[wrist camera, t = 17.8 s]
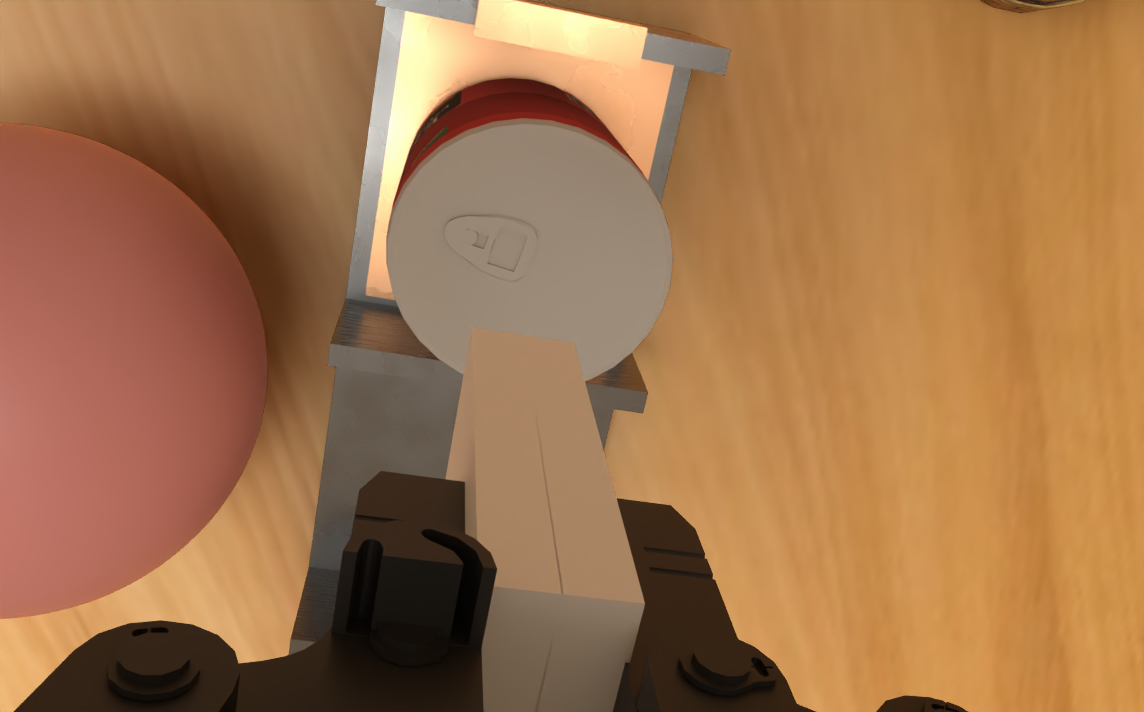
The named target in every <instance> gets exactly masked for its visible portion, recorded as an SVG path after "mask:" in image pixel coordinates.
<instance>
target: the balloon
mask: <svg viewBox="0 0 1144 712" xmlns="http://www.w3.org/2000/svg"><path fill="white" fill-rule="evenodd" d="M267 374H268V366H267V348H266V340H265V333H264V328H263V323H262V318H261V314H260V311H259V307H258V304H257V300H256V297H255V295H254V292H253V289H252V287H251V284H250V282H249V279H248V277H247V275H246V273H245V271H244V269H243V267H242V265H241V263H240V261H239V259H238V258H237V256H236V254H235V253H234V251H233V249H232V248H231V246H230V245H229V243H228V242H227V240H226V239H225V237H224V236H223V235H222V233H221V232H220V231H219V229H218V228H217V227H216V226H215V224H214V223H213V222H212V221H211V220H210V218H209V217H208V216H207V215H206V214H205V213H204V212H203V211H202V210H201V209H200V208H199V207H198V206H197V205H196V204H195V203H194V202H193V201H192V200H191V199H190V198H189V197H188V196H187V195H186V194H185V193H184V192H182V191H181V190H180V189H179V188H178V187H176V186H175V185H174V184H173V183H171V182H170V181H169V180H167V179H166V178H164V177H163V176H162V175H160V174H159V173H157V172H156V171H154V170H153V169H151V168H149V167H148V166H146V165H144V164H143V163H141V162H139V161H137V160H136V159H134V158H132V157H130V156H128V155H126V154H124V153H122V152H120V151H118V150H116V149H113V148H111V147H109V146H106V145H104V144H102V143H99V142H96V141H93V140H91V139H88V138H85V137H81V136H78V135H75V134H71V133H68V132H64V131H59V130H55V129H49V128H44V127H38V126H32V125H24V124H12V123H0V619H8V618H19V617H27V616H35V615H41V614H46V613H51V612H55V611H59V610H63V609H67V608H71V607H74V606H78V605H81V604H84V603H87V602H90V601H93V600H96V599H99V598H101V597H104V596H106V595H109V594H111V593H113V592H115V591H117V590H119V589H121V588H123V587H125V586H127V585H129V584H131V583H133V582H135V581H137V580H138V579H140V578H142V577H143V576H145V575H147V574H148V573H150V572H151V571H153V570H155V569H156V568H158V567H159V566H160V565H162V564H163V563H165V562H166V561H167V560H169V559H170V558H171V557H172V556H174V555H175V554H176V553H177V552H178V551H180V550H181V549H182V548H183V547H184V546H185V545H187V544H188V543H189V542H190V541H191V540H192V539H193V538H194V537H195V536H196V535H197V534H198V533H199V532H200V531H201V530H202V529H203V528H204V527H205V526H206V525H207V524H208V522H209V521H210V520H211V519H212V518H213V516H214V515H215V514H216V513H217V511H218V510H219V509H220V507H221V506H222V505H223V503H224V502H225V500H226V499H227V498H228V496H229V495H230V493H231V492H232V490H233V488H234V487H235V485H236V483H237V482H238V480H239V478H240V476H241V474H242V472H243V470H244V468H245V466H246V464H247V462H248V460H249V457H250V455H251V452H252V450H253V447H254V444H255V442H256V438H257V435H258V432H259V428H260V425H261V421H262V416H263V411H264V406H265V399H266V390H267Z"/></svg>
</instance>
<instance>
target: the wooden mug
mask: <svg viewBox="0 0 1144 712" xmlns="http://www.w3.org/2000/svg"><path fill="white" fill-rule="evenodd" d="M982 1H983V2H985V3H987V4H989V5H991V6H992V7H995V8H1000V9H1005V10H1009V11H1014V12H1019V13H1024V12H1030V11H1037V10H1043V9H1049V8H1055V7H1062V6H1068V5H1074V4H1078V3H1081V2H1083V1H1086V0H982Z"/></svg>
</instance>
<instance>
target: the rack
mask: <svg viewBox="0 0 1144 712" xmlns="http://www.w3.org/2000/svg"><path fill="white" fill-rule="evenodd" d="M376 5H378V6H383V7H386V9H385V16H384V23H383V30H382V38H381V45H380V52H379V60H378V67H377V74H376V82H375V89H374V96H373V103H372V111H371V118H370V125H369V133H368V140H367V147H366V155H365V162H364V169H363V176H362V184H361V191H360V198H359V206H358V213H357V220H356V227H355V235H354V242H353V249H352V257H351V264H350V271H349V279H348V286H347V293H346V299H345V302H344V305H343V308H342V311H341V314H340V317H339V320H338V323H337V326H336V328H335V331H334V334H333V337H332V340H331V343H330V350H329V357H328V365H327V366H333V367H336V373H335V381H334V388H333V395H332V403H331V410H330V417H329V425H328V432H327V439H326V446H325V454H324V461H323V468H322V476H321V483H320V490H319V497H318V505H317V512H316V519H315V527H314V534H313V541H312V549H311V556H310V563H309V569H308V573H307V577H306V581H305V585H304V589H303V593H302V597H301V601H300V605H299V608H298V612H297V616H296V620H295V624H294V628H293V632H292V636H291V641H290V648H289V655H290V654H293V653H296V652H298V651H301V650H304V649H306V648H307V647H309V646H311V645H312V644H314V643H315V642H317V641H318V640H320V639H321V638H322V637H323V636H324V635H325V634H326V633H327V632H328V630H329V629H330V628H331V627H332V623H333V616H334V609H335V602H336V595H337V588H338V581H339V574H340V567H341V560H342V553H343V550H344V548H345V546H346V544H347V543H348V541H349V539H350V538H351V533H352V527H353V522H354V517H355V511H356V505H357V500H358V494H359V490H360V489H361V488H362V487H363V486H364V485H365V484H366V483H368V482H369V481H370V480H371V479H372V478H373V477H375V476H376V475H377V474H378V473H379V472H380V471H386V472H393V473H401V474H409V475H417V476H424V477H432V478H440V479H445V478H446V473H447V467H448V461H449V455H450V450H451V444H452V438H453V432H454V427H455V421H456V415H457V409H458V404H459V398H460V392H461V387H462V381H463V375H464V374H461V373H460V372H458V371H457V370H455V369H453V368H452V367H450V366H449V365H447V364H446V363H444V362H443V361H441V360H440V359H438V358H437V357H436V356H435V355H434V354H433V353H432V352H431V351H430V350H429V349H428V348H427V347H426V346H425V345H424V344H423V343H421V342H420V341H419V340H418V338H417V337H416V335H415V334H414V332H413V331H412V330H411V328H410V327H409V325H408V324H407V323H406V321H405V320H404V318H403V316H402V314H401V311H400V309H399V307H398V305H397V302H396V300H395V298H394V296H393V293H392V288H391V283H390V279H389V274H388V269H387V264H386V235H387V230H388V224H389V220H390V215H391V211H392V206H393V202H394V198H395V195H396V192H397V188H398V185H399V182H400V179H401V175H402V172H403V169H404V166H405V162H406V159H407V156H408V153H409V149H410V147H411V145H412V143H413V140H414V138H415V136H416V134H417V132H418V129H419V128H420V127H421V125H422V124H423V123H424V121H425V120H426V119H427V117H428V116H429V115H430V113H431V112H432V111H433V110H435V109H436V108H437V107H438V106H439V105H440V104H441V103H442V102H444V101H445V100H446V99H447V98H449V97H450V96H452V95H454V94H456V93H457V92H459V91H461V90H463V89H464V88H466V87H469V86H472V85H475V84H478V83H481V82H485V81H488V80H497V79H505V78H516V79H529V80H535V81H538V82H542V83H546V84H549V85H553V86H555V87H557V88H559V89H561V90H563V91H565V92H567V93H569V94H571V95H573V96H575V97H576V98H577V99H579V100H580V101H581V102H582V103H584V104H585V105H586V106H588V107H589V108H590V109H591V110H592V111H593V112H594V113H595V114H596V115H597V116H598V118H599V119H600V120H601V121H602V122H603V123H604V124H605V125H606V127H607V128H608V129H609V130H610V132H611V133H612V134H613V135H614V137H615V138H616V139H617V140H618V142H619V143H620V144H621V146H622V147H623V148H624V149H625V151H626V152H627V153H628V154H629V156H630V157H631V158H632V159H633V161H634V162H635V163H636V164H637V166H638V167H639V168H640V169H641V171H642V172H643V174H644V176H645V177H646V178H647V180H648V182H649V183H650V185H651V187H652V189H653V190H654V192H655V194H656V196H657V197H658V199H659V201H660V203H661V200H662V196H663V192H664V187H665V183H666V179H667V174H668V170H669V166H670V161H671V157H672V153H673V148H674V144H675V140H676V135H677V131H678V127H679V122H680V118H681V114H682V109H683V105H684V101H685V96H686V92H687V88H688V83H689V79H690V75H691V70H692V69H694V70H699V71H704V72H709V73H714V74H719V75H724V76H725V72H726V68H727V63H728V59H729V55H730V51H731V50H730V49H727V48H725V47H722V46H720V45H717V44H715V43H712V42H710V41H707V40H705V39H702V38H700V37H697V36H695V35H692V34H689V33H684V32H679V31H674V30H670V29H665V28H660V27H655V26H650V25H646V24H641V23H636V22H631V21H626V20H621V19H617V18H612V17H607V16H602V15H597V14H593V13H588V12H583V11H578V10H573V9H568V8H564V7H559V6H554V5H549V4H544V3H539V2H535V1H530V0H376ZM585 384H586V388H587V391H588V395H589V399H590V402H591V406H592V410H593V413H594V417H595V421H596V424H597V428H598V432H599V436H600V439H601V443H602V447H603V450H604V447H605V442H606V438H607V434H608V429H609V425H610V421H611V416H612V412H613V409H617V410H624V411H631V412H637V413H643V411H644V407H645V403H646V399H647V395H648V391H647V389H646V386H645V384H644V382H643V379H642V377H641V374H640V372H639V369H638V367H637V364H636V362H635V359H634V357H633V354H632V353H630V354H629V355H628V356H627V357H625V358H624V359H623V360H622V361H620V362H619V363H618V364H617V365H615V366H614V367H613V368H611V369H609V370H607V371H605V372H603V373H601V374H600V375H598V376H596V377H594V378H592V379H590V380H587V381H585Z"/></svg>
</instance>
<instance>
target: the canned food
mask: <svg viewBox="0 0 1144 712" xmlns="http://www.w3.org/2000/svg"><path fill="white" fill-rule="evenodd" d="M672 262H673V256H672V247H671V238H670V232H669V227H668V224H667V221H666V218H665V215H664V212H663V209H662V206H661V203H660V201H659V199H658V197H657V196H656V194H655V192H654V190H653V189H652V187H651V185H650V183H649V182H648V180H647V178H646V177H645V176H644V174H643V172H642V171H641V169H640V168H639V167H638V166H637V164H636V163H635V162H634V161H633V159H632V158H631V157H630V156H629V154H628V153H627V152H626V151H625V149H624V148H623V147H622V146H621V144H620V143H619V142H618V140H617V139H616V138H615V137H614V135H613V134H612V133H611V132H610V130H609V129H608V128H607V127H606V125H605V124H604V123H603V122H602V121H601V120H600V119H599V118H598V116H597V115H596V114H595V113H594V112H593V111H592V110H591V109H590V108H589V107H588V106H586V105H585V104H584V103H582V102H581V101H580V100H579V99H577V98H576V97H575V96H573V95H571V94H569V93H567V92H565V91H563V90H561V89H559V88H557V87H555V86H553V85H549V84H546V83H542V82H538V81H535V80H529V79H516V78H505V79H497V80H488V81H485V82H481V83H478V84H475V85H472V86H469V87H466V88H464V89H463V90H461V91H459V92H457V93H456V94H454V95H452V96H450V97H449V98H447V99H446V100H445V101H444V102H442V103H441V104H440V105H439V106H438V107H437V108H436V109H435V110H433V111H432V112H431V113H430V115H429V116H428V117H427V119H426V120H425V121H424V123H423V124H422V125H421V127H420V128H419V129H418V132H417V134H416V136H415V138H414V140H413V143H412V145H411V147H410V149H409V153H408V156H407V159H406V162H405V166H404V169H403V172H402V175H401V179H400V182H399V185H398V188H397V192H396V195H395V198H394V202H393V206H392V211H391V215H390V220H389V224H388V230H387V235H386V264H387V269H388V274H389V279H390V283H391V288H392V293H393V296H394V298H395V300H396V302H397V305H398V307H399V309H400V311H401V314H402V316H403V318H404V320H405V321H406V323H407V324H408V325H409V327H410V328H411V330H412V331H413V332H414V334H415V335H416V337H417V338H418V340H419V341H420V342H421V343H423V344H424V345H425V346H426V347H427V348H428V349H429V350H430V351H431V352H432V353H433V354H434V355H435V356H436V357H437V358H438V359H440V360H441V361H443V362H444V363H446V364H447V365H449V366H450V367H452V368H453V369H455V370H457V371H458V372H460V373H461V374H464V369H465V364H466V358H467V352H468V346H469V341H470V335H471V329H472V327H473V328H480V329H487V330H493V331H500V332H506V333H513V334H519V335H526V336H532V337H539V338H546V339H552V340H559V341H565V342H572V343H575V347H576V351H577V354H578V358H579V362H580V365H581V369H582V373H583V376H584V380H585V381H587V380H590V379H592V378H594V377H596V376H598V375H600V374H601V373H603V372H605V371H607V370H609V369H611V368H613V367H614V366H615V365H617V364H618V363H619V362H620V361H622V360H623V359H624V358H625V357H627V356H628V355H629V354H630V353H632V352H633V351H634V350H635V349H636V348H637V346H638V345H639V344H640V343H641V342H642V341H643V339H644V338H645V337H646V336H647V335H648V333H649V332H650V331H651V329H652V327H653V326H654V324H655V322H656V320H657V318H658V317H659V315H660V313H661V311H662V309H663V306H664V303H665V300H666V297H667V294H668V290H669V287H670V283H671V273H672Z"/></svg>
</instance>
